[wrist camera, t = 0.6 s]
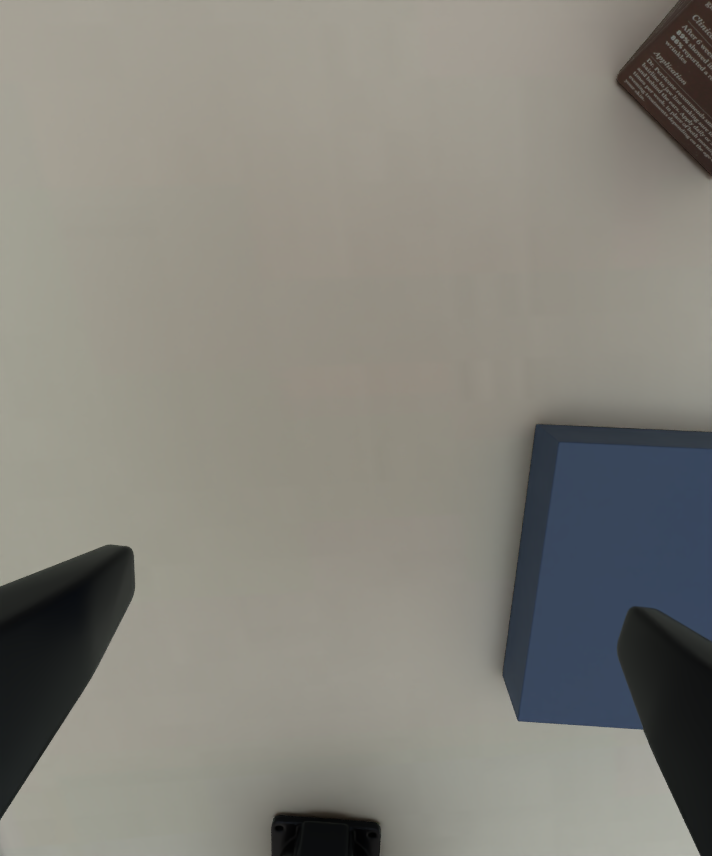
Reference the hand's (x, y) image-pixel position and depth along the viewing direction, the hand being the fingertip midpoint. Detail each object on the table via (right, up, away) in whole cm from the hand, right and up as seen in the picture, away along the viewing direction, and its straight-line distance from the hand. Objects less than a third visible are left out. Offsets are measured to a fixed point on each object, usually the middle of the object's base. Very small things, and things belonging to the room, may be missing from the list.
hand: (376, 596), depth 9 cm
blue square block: (+14, -4, +15) cm, 22 cm away
